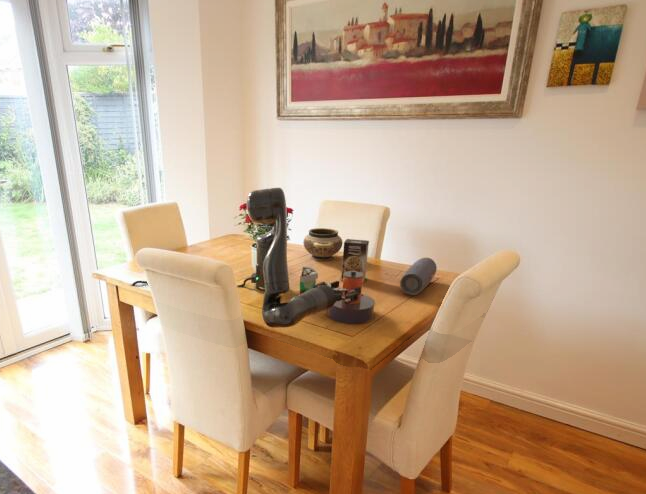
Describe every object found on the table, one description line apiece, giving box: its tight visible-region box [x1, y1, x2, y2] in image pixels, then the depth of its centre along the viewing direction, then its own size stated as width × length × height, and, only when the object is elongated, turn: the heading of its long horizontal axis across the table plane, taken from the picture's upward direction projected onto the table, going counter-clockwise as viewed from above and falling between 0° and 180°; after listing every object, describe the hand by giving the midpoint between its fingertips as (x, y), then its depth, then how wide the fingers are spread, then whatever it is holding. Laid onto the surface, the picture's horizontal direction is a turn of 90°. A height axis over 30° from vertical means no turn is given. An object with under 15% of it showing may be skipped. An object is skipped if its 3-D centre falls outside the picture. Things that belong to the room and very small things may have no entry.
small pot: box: [342, 271, 364, 304], centre depth 152 cm, size 7×7×10 cm
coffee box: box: [340, 238, 370, 284], centre depth 185 cm, size 9×6×16 cm
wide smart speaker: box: [327, 293, 376, 324], centre depth 155 cm, size 15×15×5 cm
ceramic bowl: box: [303, 227, 344, 262], centre depth 215 cm, size 24×18×15 cm
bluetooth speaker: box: [399, 257, 438, 296], centre depth 175 cm, size 23×9×10 cm, turn 147°
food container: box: [299, 266, 319, 295], centre depth 170 cm, size 12×6×10 cm, turn 168°
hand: (348, 286), depth 151 cm, fingers open, 8 cm apart
